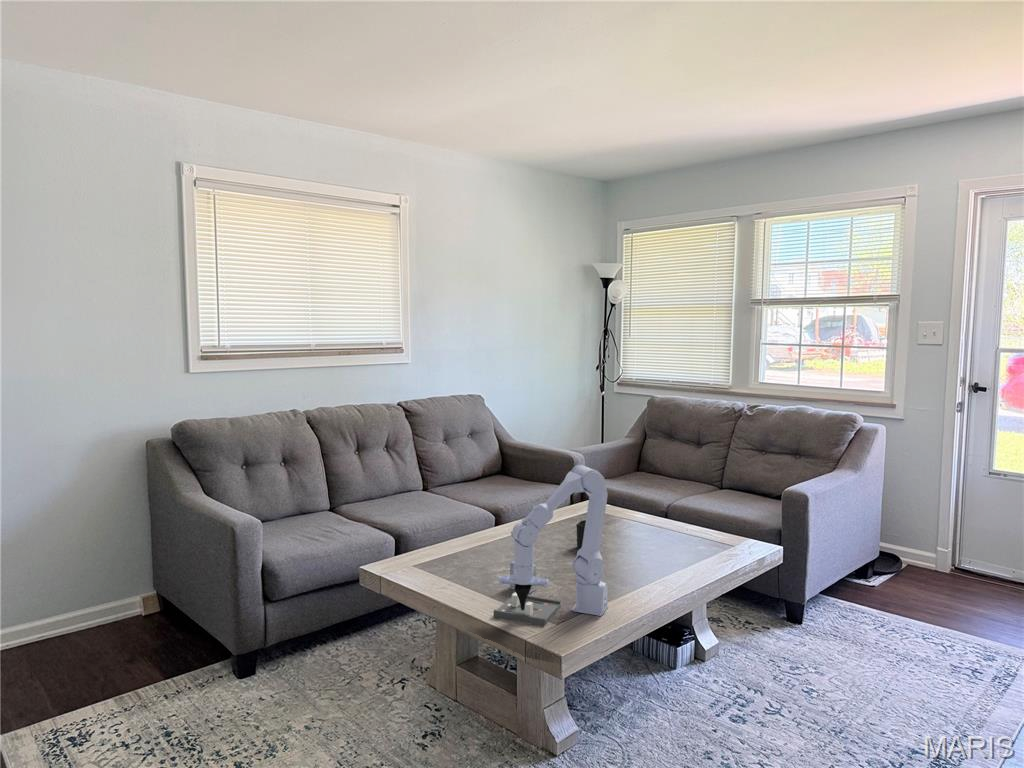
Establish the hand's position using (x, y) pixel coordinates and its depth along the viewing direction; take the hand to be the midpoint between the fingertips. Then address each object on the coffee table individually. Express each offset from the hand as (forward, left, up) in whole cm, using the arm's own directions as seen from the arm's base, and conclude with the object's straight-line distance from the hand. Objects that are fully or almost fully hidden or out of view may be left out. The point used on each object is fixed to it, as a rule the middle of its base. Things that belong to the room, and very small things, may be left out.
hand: (523, 608), depth 204 cm
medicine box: (+8, -21, -3) cm, 23 cm away
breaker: (+4, -5, -2) cm, 7 cm away
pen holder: (0, -71, -3) cm, 72 cm away
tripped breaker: (-2, 0, -2) cm, 2 cm away
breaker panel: (0, -5, -3) cm, 6 cm away
